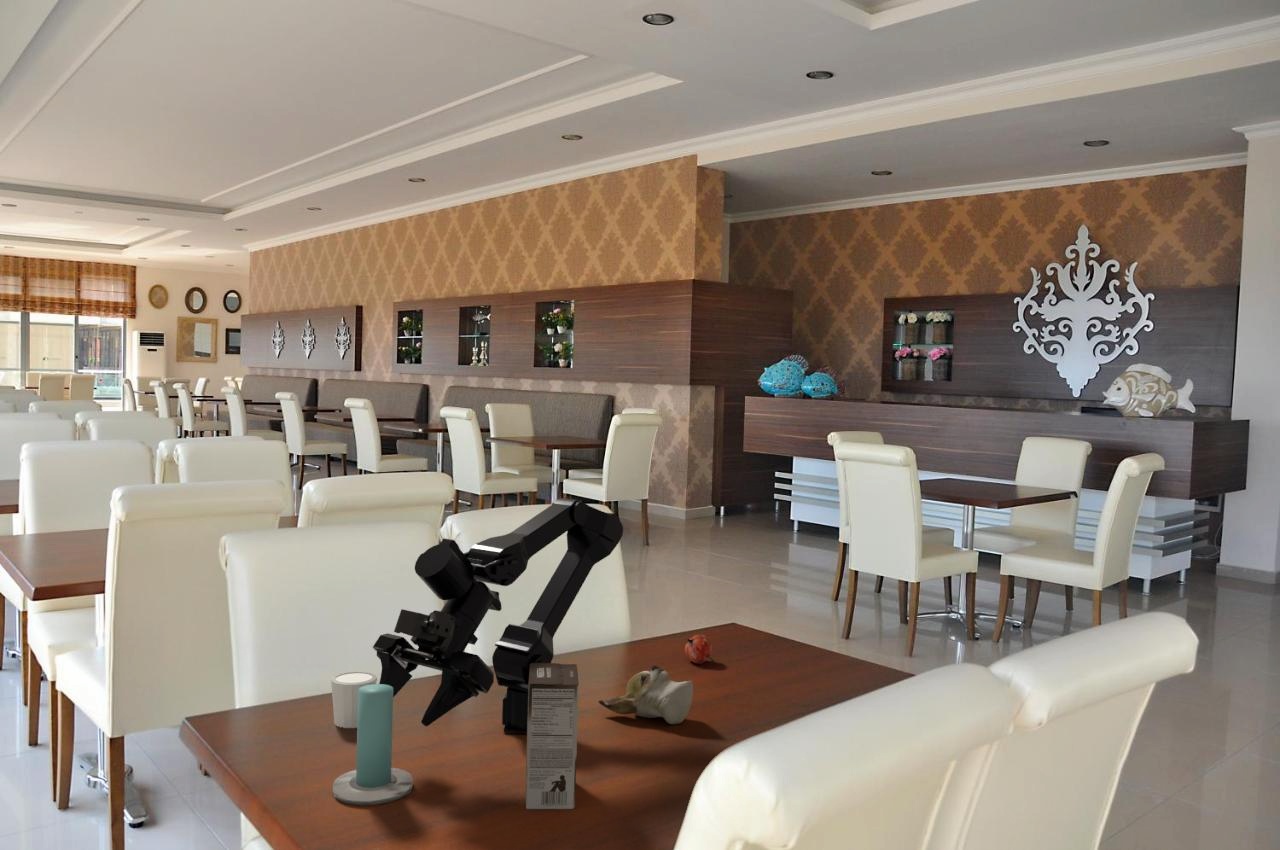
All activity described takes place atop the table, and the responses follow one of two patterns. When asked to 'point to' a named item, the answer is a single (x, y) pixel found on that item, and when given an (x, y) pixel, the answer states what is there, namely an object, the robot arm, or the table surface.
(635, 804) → the table surface
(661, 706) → the ceramic sculpture
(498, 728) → the table surface
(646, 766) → the table surface
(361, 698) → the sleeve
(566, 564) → the robot arm
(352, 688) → the white candle cup
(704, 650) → the pomegranate
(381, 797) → the hub disc
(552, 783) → the coffee box
